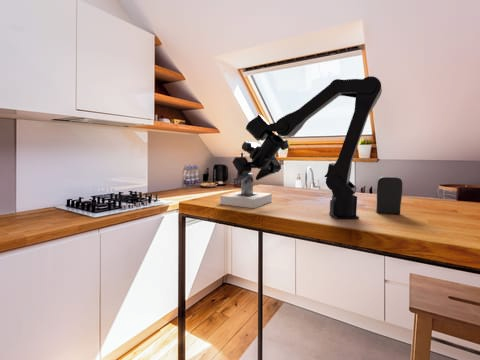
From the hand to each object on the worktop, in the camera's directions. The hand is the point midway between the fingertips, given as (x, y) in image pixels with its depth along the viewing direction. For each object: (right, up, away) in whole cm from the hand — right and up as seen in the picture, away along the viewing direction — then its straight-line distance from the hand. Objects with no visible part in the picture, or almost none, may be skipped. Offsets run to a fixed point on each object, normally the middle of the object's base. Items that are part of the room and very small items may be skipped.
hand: (247, 180), depth 101 cm
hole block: (0, -8, +1) cm, 8 cm away
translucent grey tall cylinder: (0, -8, +1) cm, 8 cm away
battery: (+44, -10, -15) cm, 47 cm away
